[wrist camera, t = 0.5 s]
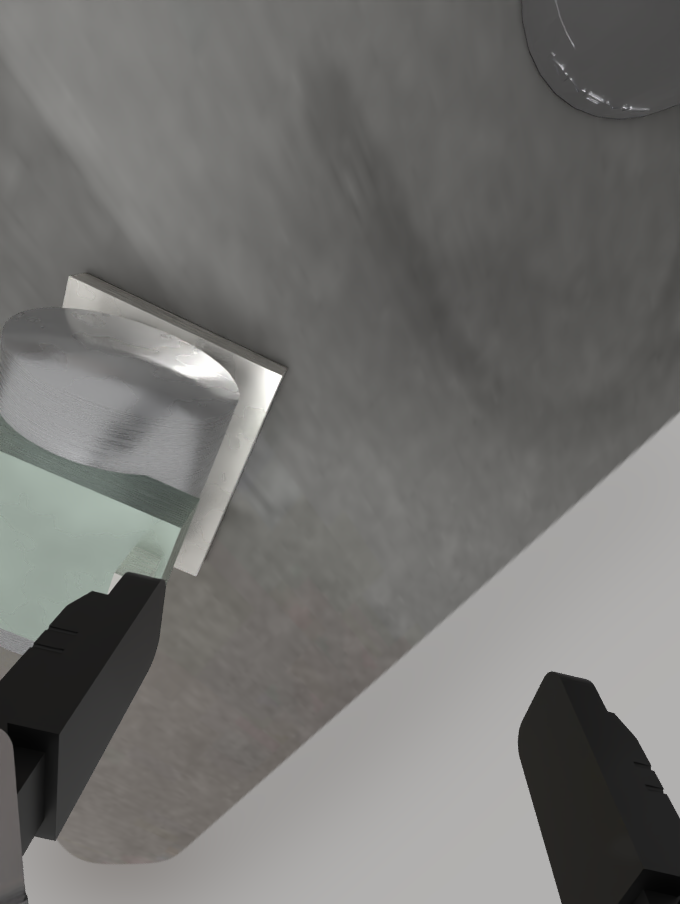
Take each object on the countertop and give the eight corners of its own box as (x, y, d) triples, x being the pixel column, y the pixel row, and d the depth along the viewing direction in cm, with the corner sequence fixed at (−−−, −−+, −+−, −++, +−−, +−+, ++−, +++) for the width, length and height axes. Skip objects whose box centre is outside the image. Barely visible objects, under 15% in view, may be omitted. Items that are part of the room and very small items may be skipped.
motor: (85, 272, 25) (-174, 318, 14) (287, 368, 27) (208, 486, 15) (32, 509, 32) (-177, 680, 20) (196, 578, 33) (91, 777, 21)
